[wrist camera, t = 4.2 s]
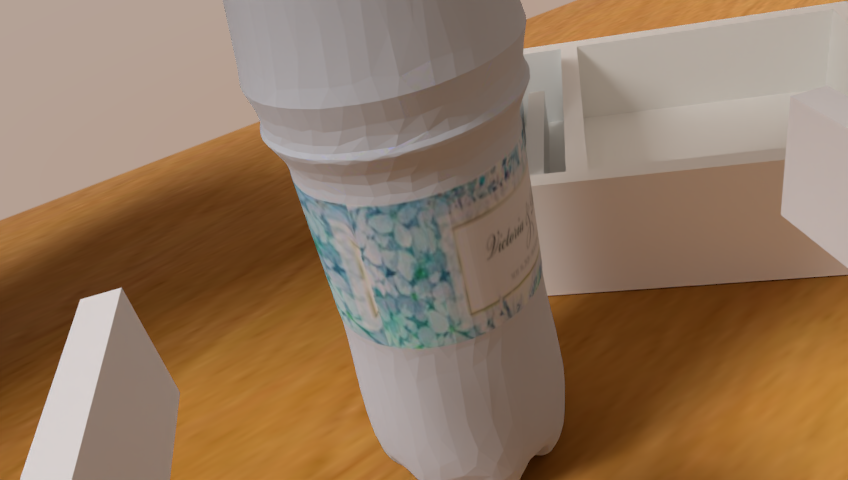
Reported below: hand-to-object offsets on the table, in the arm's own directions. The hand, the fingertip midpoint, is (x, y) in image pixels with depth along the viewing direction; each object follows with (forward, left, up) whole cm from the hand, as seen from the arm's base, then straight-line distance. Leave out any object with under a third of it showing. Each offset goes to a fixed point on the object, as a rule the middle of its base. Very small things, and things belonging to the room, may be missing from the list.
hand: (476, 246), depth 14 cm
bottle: (-2, +5, -11) cm, 12 cm away
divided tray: (+5, +19, -11) cm, 22 cm away
